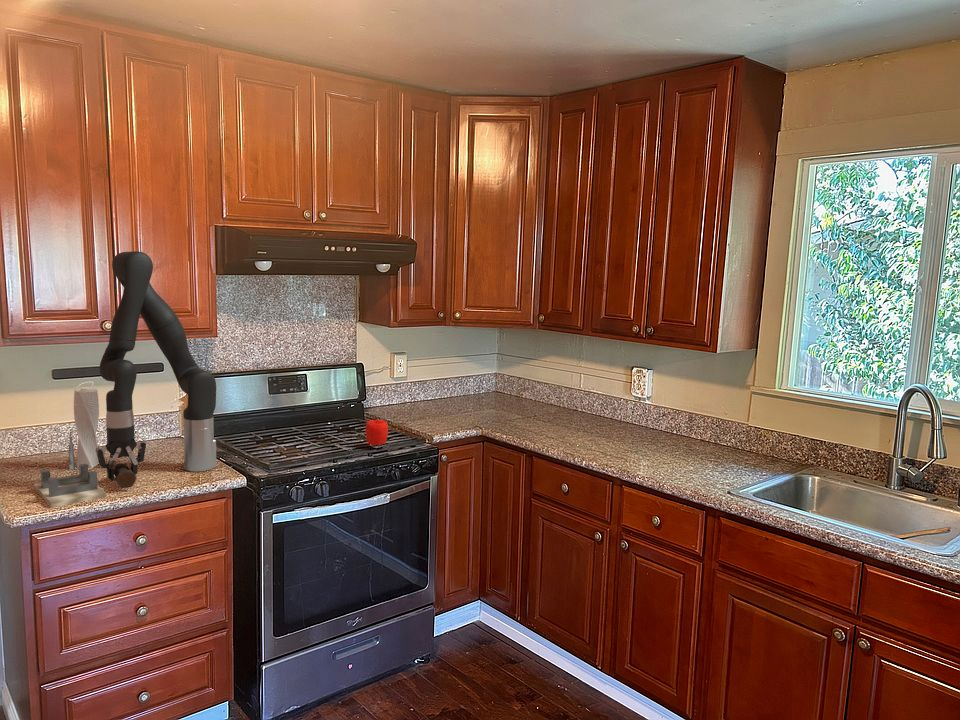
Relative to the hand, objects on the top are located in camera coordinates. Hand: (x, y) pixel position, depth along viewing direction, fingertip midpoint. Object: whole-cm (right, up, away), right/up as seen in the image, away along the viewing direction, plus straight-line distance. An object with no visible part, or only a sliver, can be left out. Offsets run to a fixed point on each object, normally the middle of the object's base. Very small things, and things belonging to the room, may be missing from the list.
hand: (122, 477), depth 215 cm
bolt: (0, -1, 0) cm, 1 cm away
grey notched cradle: (-11, -1, -10) cm, 14 cm away
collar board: (-11, -3, -9) cm, 15 cm away
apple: (+70, +2, +54) cm, 88 cm away
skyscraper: (-20, +1, +16) cm, 26 cm away
